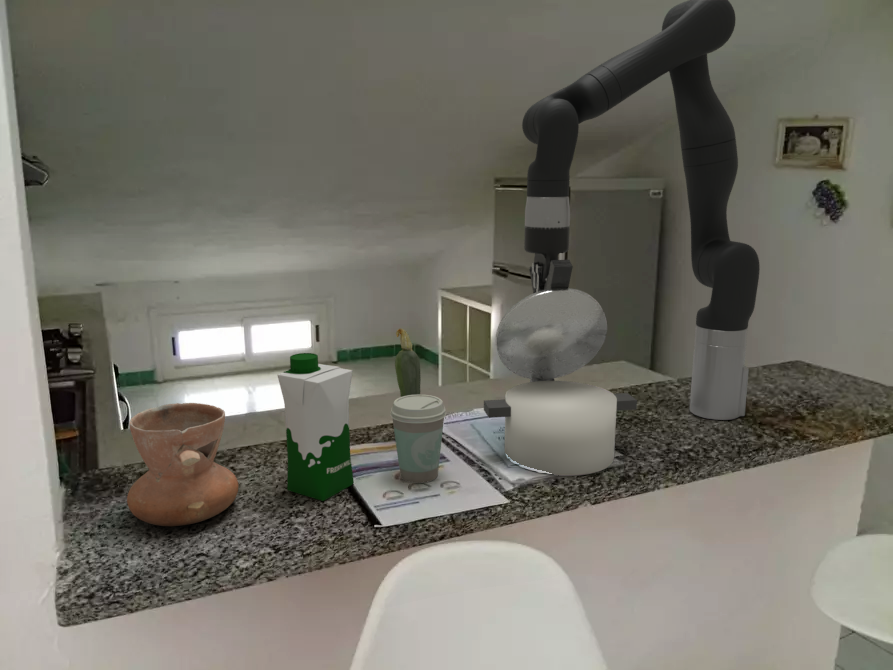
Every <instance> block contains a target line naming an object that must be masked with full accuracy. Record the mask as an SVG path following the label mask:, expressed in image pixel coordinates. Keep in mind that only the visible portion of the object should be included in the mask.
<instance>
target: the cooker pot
mask: <svg viewBox="0 0 893 670" xmlns="http://www.w3.org/2000/svg"><path fill="white" fill-rule="evenodd" d="M637 405H638V399H636V398H635V397H633V396H632V394H630V393H628V392H621V393H620V392H618V393H613V392H612V391H610V390H608V389H605V388H603V387H601V386H597V385H593V384H589V383H586V382H585V383H584V382H579V381H569V380H568V381H567V380H554V381H537V382H530V381H529V382H525V383H520V384H517V385H515V386H513V387H510V388H509V389H508V390H506V392H505V399H504V398H503V399H485V400H483V411H484V413H485V414H486V416H487V417H488V418H492V419H493V418H504V454H505V453H506V454H507V455H508V457H510V458H511V459H512V460H513V461H516V462H517V463H519V464H521V465H524V466H527V467H530V468H534V469H537V470H542V471H546V472H549V473H552V474H554V475H553V476H558V475H559V476H562V477H564V476H565V477H571V476H572V477H573V476H584V475H589V474H594V473H598V472H601V471H602V470H605V469H607V468H609V467H610V466H611V465H612V464H613V462H614V460H615V447H616V446H615V443H616V426H617V425H616V424H617V422H616V421H617V411H634V410H635V411H636V410H637V408H638V406H637Z"/></svg>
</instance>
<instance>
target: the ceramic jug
mask: <svg viewBox="0 0 893 670" xmlns="http://www.w3.org/2000/svg"><path fill="white" fill-rule="evenodd" d="M225 420H226V412H225V410H224V409H222V408H221V407H217V406H214V405H210V404H207V403H206V404H205V403H201V402H200V403H199V402H182V403H179V402H176V403H169V404H163V405H159V406H155V407H150V408H146V409H144V410H143V411H139V412H138V413H136V414H135V415H133V417H131V418H130V419H129V423H128V424H129V429H130V433H131V437H132V439H133V442H134V445H135V447H136V449H137V451H138V453H139V455H140V457H141V459H142V460H143V462H144V463H145V465H146V467H147V468H148V471H146V472H145V473H144V474H142V475H141V476H140V477H139V478H138V479H137V480H135V481H134V483H133V484H132V486H131V487H130V488H129V490H128V493H127V498H126V503H127V506H128V509H129V510H130V513H132V515H133V516H134V517H135V518H137V519H138V520H140V521H142V522H145V523H147V524H149V525H154V526H159V527H179V526H180V527H181V526H187V525H192V524H193V525H194V524H197V523H200V522H204V521H206V520H208V519H211V518H213V517H215V516H217V515H219V514H221V513H222V512H224V511H225V510H226V509H227V508H229V507H230V506H231V505H233V503H234V501H235V500H236V498H237V495H238V492H239V480H238V478H237V476H236V475H235V473H233V472H232V471H231V470H230V469H228V468H227V467H225V466H222V465H220V464H218V463H216V462H215V461H214V460H215V457H216V456H217V452H218V449H219V446H220V443H221V439H222V436H223V433H224V428H225V422H226V421H225Z"/></svg>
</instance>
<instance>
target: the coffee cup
mask: <svg viewBox="0 0 893 670" xmlns="http://www.w3.org/2000/svg"><path fill="white" fill-rule="evenodd" d="M389 415H390V417H391V419H392V425H393V431H394V433H393V434H394V440H395V445H396V447H395V448H396V455H397V460H398V467H399V475H400V478H401V479H402V480H403V481H405V482H408V483H413V484H415V483H416V484H421V483H422V484H424V483H428V482H432V481H434V480H435V479H437V478H438V476H439V466H440V458H441V448H442V440H443V439H442V437H443V429H444V421H445V417H446V416H447V411H446V407H445V405H444V401H443V400H442V399H441V398H440V397H438V396H435V395H430V394H420V395H407V396H403V397H401V396H400V397H398V398H396V399H395V400H394V401H393V404H392V406H391V408H390V413H389Z"/></svg>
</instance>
